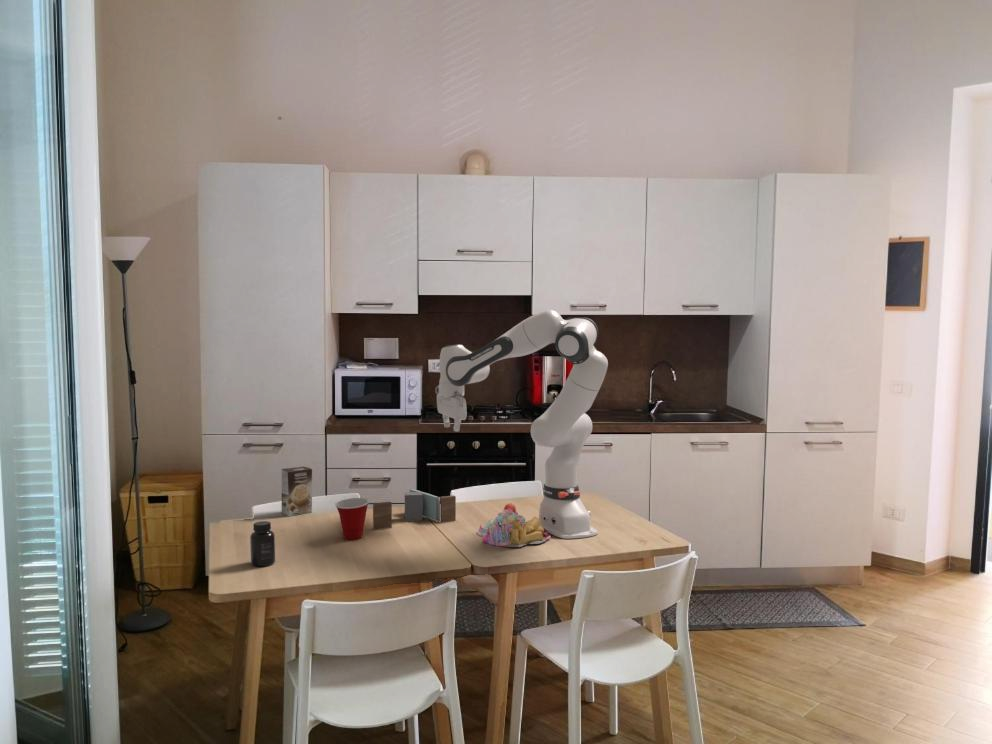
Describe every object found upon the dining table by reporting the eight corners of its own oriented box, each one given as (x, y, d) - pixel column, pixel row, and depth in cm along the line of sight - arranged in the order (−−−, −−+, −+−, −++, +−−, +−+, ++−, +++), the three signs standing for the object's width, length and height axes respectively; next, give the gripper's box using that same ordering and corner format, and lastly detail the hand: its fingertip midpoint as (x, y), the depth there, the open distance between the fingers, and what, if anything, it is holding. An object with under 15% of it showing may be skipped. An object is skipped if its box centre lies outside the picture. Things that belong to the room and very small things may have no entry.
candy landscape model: (564, 538, 262) (565, 510, 261) (515, 554, 245) (515, 524, 245) (508, 523, 280) (509, 496, 279) (459, 536, 263) (459, 509, 262)
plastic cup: (332, 534, 262) (331, 498, 261) (365, 531, 266) (364, 495, 265) (338, 544, 252) (338, 506, 251) (372, 540, 256) (372, 503, 255)
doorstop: (422, 520, 281) (422, 494, 280) (405, 520, 280) (405, 495, 279) (421, 517, 285) (421, 492, 284) (404, 517, 284) (404, 492, 283)
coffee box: (289, 516, 283) (288, 472, 282) (281, 513, 288) (280, 468, 287) (312, 512, 289) (312, 468, 288) (304, 509, 294) (304, 465, 292)
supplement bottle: (277, 559, 237) (277, 519, 236) (272, 567, 230) (271, 526, 229) (254, 559, 237) (253, 519, 236) (247, 567, 230) (247, 526, 229)
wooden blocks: (455, 520, 280) (455, 496, 280) (374, 529, 269) (374, 504, 268) (453, 519, 282) (454, 495, 281) (373, 528, 270) (373, 503, 269)
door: (438, 521, 278) (438, 498, 277) (409, 511, 291) (409, 489, 290) (440, 520, 279) (440, 497, 278) (411, 510, 291) (411, 488, 290)
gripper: (471, 393, 275) (471, 433, 276) (450, 387, 293) (450, 424, 295) (454, 394, 272) (453, 434, 273) (433, 387, 291) (433, 425, 292)
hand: (451, 429), depth 284 cm, fingers open, 8 cm apart
